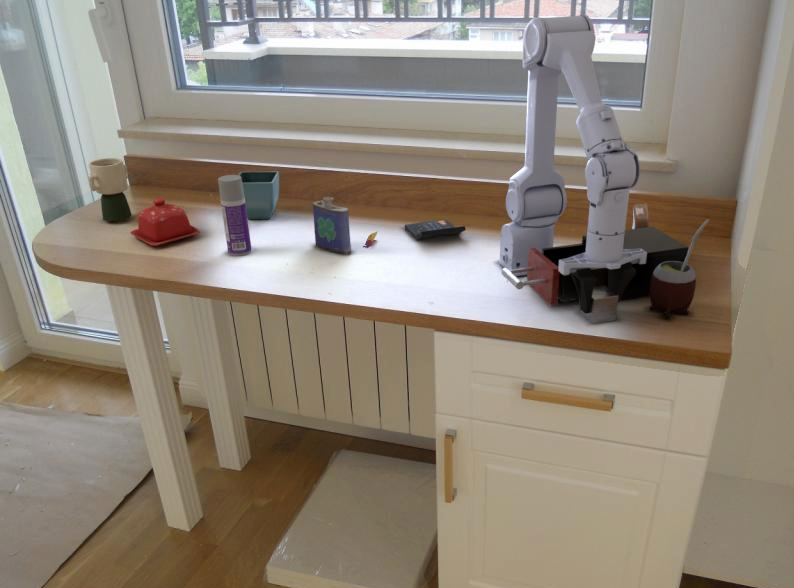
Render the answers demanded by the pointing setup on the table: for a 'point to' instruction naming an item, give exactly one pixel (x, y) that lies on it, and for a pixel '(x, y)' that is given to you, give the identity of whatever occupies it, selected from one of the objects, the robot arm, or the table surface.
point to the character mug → (110, 187)
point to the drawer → (552, 273)
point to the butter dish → (163, 224)
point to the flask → (331, 227)
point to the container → (234, 215)
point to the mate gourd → (674, 284)
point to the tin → (640, 216)
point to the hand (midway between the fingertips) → (598, 308)
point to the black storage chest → (649, 257)
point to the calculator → (433, 229)
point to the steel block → (602, 305)
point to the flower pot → (260, 193)
